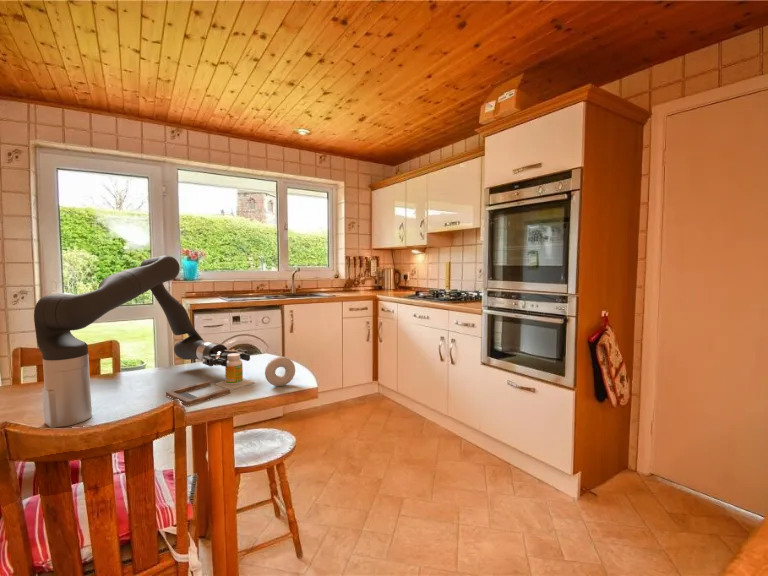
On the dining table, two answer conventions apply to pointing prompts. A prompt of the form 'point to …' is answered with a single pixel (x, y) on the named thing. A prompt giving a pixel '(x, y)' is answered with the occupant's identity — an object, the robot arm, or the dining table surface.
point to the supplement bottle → (234, 369)
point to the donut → (277, 363)
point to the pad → (244, 383)
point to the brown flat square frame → (191, 399)
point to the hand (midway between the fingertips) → (237, 360)
